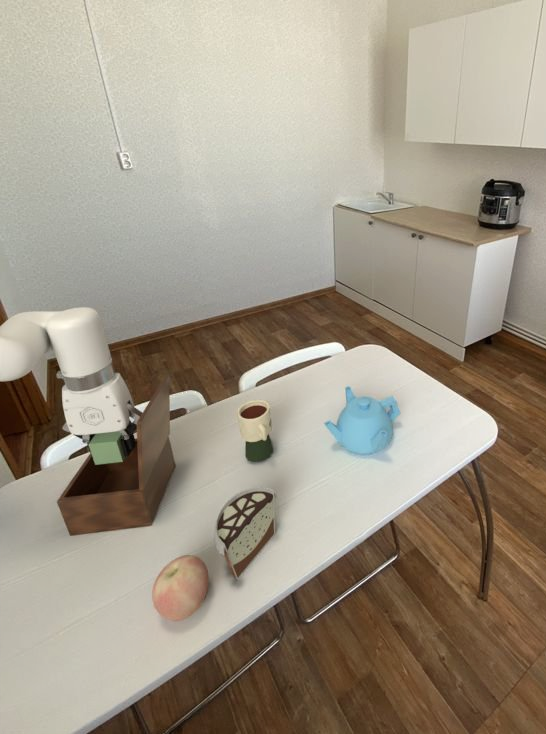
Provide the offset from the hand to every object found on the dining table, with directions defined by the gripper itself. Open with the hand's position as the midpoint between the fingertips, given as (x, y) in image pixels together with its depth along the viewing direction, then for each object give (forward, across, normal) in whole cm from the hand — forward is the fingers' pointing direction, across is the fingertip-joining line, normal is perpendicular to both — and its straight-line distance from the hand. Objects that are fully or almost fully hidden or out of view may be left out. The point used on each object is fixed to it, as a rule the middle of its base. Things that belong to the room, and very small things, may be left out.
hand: (114, 451), depth 75 cm
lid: (-5, +8, 0) cm, 9 cm away
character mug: (+13, +26, +8) cm, 30 cm away
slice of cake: (+13, +26, -14) cm, 32 cm away
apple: (+13, +18, -22) cm, 31 cm away
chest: (+12, 0, 0) cm, 12 cm away
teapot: (+13, +51, +10) cm, 53 cm away
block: (0, 0, 0) cm, 0 cm away
